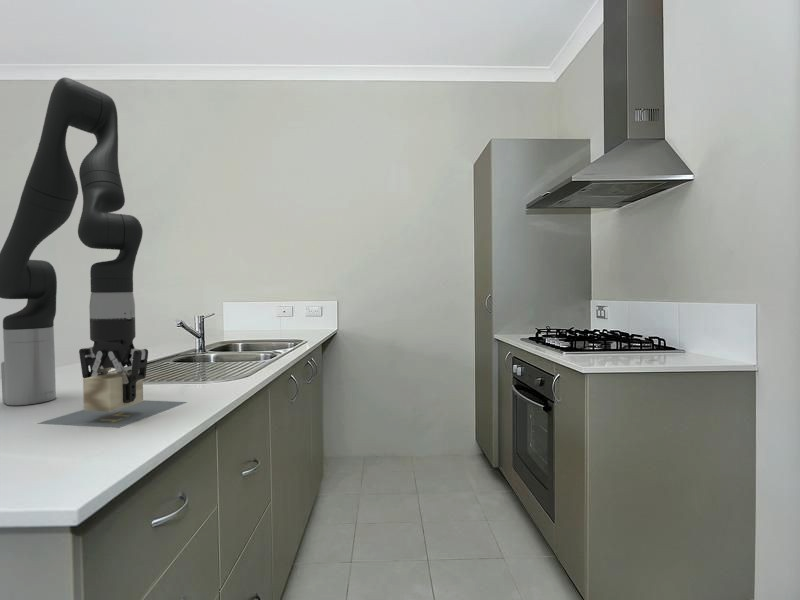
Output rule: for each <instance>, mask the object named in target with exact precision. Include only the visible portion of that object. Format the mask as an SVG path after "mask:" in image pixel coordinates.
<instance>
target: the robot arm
mask: <svg viewBox="0 0 800 600" xmlns="http://www.w3.org/2000/svg"><path fill="white" fill-rule="evenodd" d="M45 113H46V114H45V117H44V122H43V126H42V131H41V135H40V139H39V142H38V147H37V150H36V153H35V155H34V159H33V161H32V163H31V164H32V165H31V166H30V170H29V172H28V175H27V176H26V177H27V178H26V181H25V184H24V186H23V190H22V192H21V195H20V199H19V204H18V207H17V210H16V213H15V217H14V219H13V222H12V225H11V228H10V230H9V233H8V235H7V237H6V239H5V242H4V244H3V246H2V247H1V250H0V299H4V300H26V301H27V302H26V305H25V306H24V307H23V308H21V309H20V310H19V311H16V312H14V313H12V314H9V315H6V316H5V317H3V319H2V334H3V335H2V340H3V361H2V362H1V364H0V369H1V371H0V373H1V396H2V397H1V400H2V401H1V403H2V404H5V405H6V406H26V405H27V406H28V405H34V404H41V403H45V402H48V401H49V402H50V401H53V400H55V399H56V398H57V391H56V390H57V388H56V387H57V385H56V382H57V381H56V357H55V356H56V355H55V329H54V328H55V327H54V326H55V325H54V324H55V323H54V321H55V317H56V314H57V295H58V294H57V289H58V287H57V286H58V284H57V283H58V281H57V273H56V270H55V268H54V266H53V265H52V263H50V262H49V261H46V260H39V259H30V258H31V257H32V254H33V253H34V251H35V249H36V248H37V247H38V246H39V245H40V244H41V242H43V241H44V240H46V239H47V238H48V237H50V235H52V234H54V232H56V231H57V230H59V228H61V227H62V226H63V225H64V224H65V223H67V221H68V219H69V218H70V217H71V214H72V212H73V210H74V206H75V203H76V201H77V198H78V195H79V185H78V181H77V178H76V175H75V172H74V170H73V167H72V164H71V162H70V159H69V156H68V153H67V147H66V146H67V145H66V144H67V143H66V139H67V132H68V128H69V127H72V128H74V129H77V130H80V131H82V132H86V133H88V134H93V135H94V137H95V139H96V144H95V146H94V147H93V148H92V149H91V150H90V152H88V154H87V155H86V156H84V158H83V159H82V161H81V163H80V166H79V174H78V176H79V182H80V188H81V192H82V211H81V215H80V217H79V218H80V219H79V223H78V226H77V227H78V228H77V235H78V238H79V240H80V242H81V243H82V244H83V245H84V246H85V247H88V248H89V249H97V250H113V251H114V250H116V251H119V253H118V255H117V256H116V258H115V259H112V260H105V261H99V262H95V263H93V264H91V266H90V271H89V272H90V273H89V274H90V275H89V276H90V298H89V306H88V307H89V340H90V341H91V342H93V346H92V347H91V346H90V347H84V348H80V349H79V350H78V351H79V352H78V354H79V360H80V369H81V374H82V379H84V378H88V377H93V376H99V375H102V374H107V373H109V372H110V371H111V370H112V369H115V371H116V372H117V373H118V374H120V376H121V377H122V381H123V383H124V384H123V403H130V402H133V401H134V399H135V398H136V382H137V381H138V380H141V379H143V380H144V379H146V377H147V368H148V358H149V351H148V349H147V348H141V349H140V348H136V347H135V346H134V339H135V338H136V304H135V302H136V301H135V297H134V269H135V263H136V259H137V255H138V251H139V250H140V249H139V248H140V246H141V243H142V239H143V231H144V230H143V227H142V224H141V222H140V221H139V219H138V218H137V217H136V216H133V215H131V214H125V213H124V214H123V213H115V212H117V211H120V210H121V209H122V208H124V206H125V200H126V198H125V192H124V187H123V183H122V178H121V174H120V168H119V167H120V166H119V131H118V130H119V126H118V122H119V121H118V110H117V106H116V103H115V101H114V99H113V98H112V97H111V96H110V95H108V94H106V93H104V92H102V91H100V90H98V89H95V88H93V87H91V86H88V85H86V84H84V83H82V82H79V81H77V80H75V79H72V78H69V77H64V76H63V77H61V78H59V79H58V80H57V82H55V84H54V86H53V88H52V91H51V93H50V96H49V101H48V105H47V108H46V112H45ZM127 372H128V374H129V375H130V376H128V374H127Z"/></svg>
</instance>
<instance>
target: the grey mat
mask: <svg viewBox="0 0 800 600" xmlns="http://www.w3.org/2000/svg"><path fill="white" fill-rule="evenodd" d="M186 403H188V401H173V400H172V401H168V400H167V401H166V400H147V399H146V400H145V399H143V402H140V403H137V404H134V405H131V406H127V407H124V408H121V409H118V410H115V411H112V412H104V411H88V410H84V409H81V410H78V411H75V412H71V413H68V414H64V415H61V416H58V417H53V418H51V419H46V420H44V421H41V422H38V423H37V424H41V425H56V426H57V425H58V426H60V425H61V426H74V427H91V428H92V427H95V428H112V429H113V428H116V429H120V428H122V427H125V426H127V425H130V424H133V423H135V422H139V421H141V420H144V419H146V418H149V417H152V416H155V415H157V414H159V413H162V412H166V411H168V410H170V409H173V408H176V407H179V406H181V405H184V404H186Z"/></svg>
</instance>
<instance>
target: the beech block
mask: <svg viewBox="0 0 800 600" xmlns="http://www.w3.org/2000/svg"><path fill="white" fill-rule="evenodd" d="M127 374H128V372H127ZM128 376H130V375H129V374H128ZM143 383H144V379H141V380H138V381H137V382H136V398H135V399H134V401H133V402H130V403H123V384H124V383H123V381H122V377H121V376H120V374H118V373H117V372H116V370H115V371H111V372H108V373H107V374H102V375H99V376H93V377H88V378H82V390H83V391H82V393H83V396H82V398H83V410H88V411H104V412H112V411H115V410H118V409H121V408H124V407H127V406H131V405H134V404H137V403H140V402H143V400H144V384H143Z"/></svg>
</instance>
